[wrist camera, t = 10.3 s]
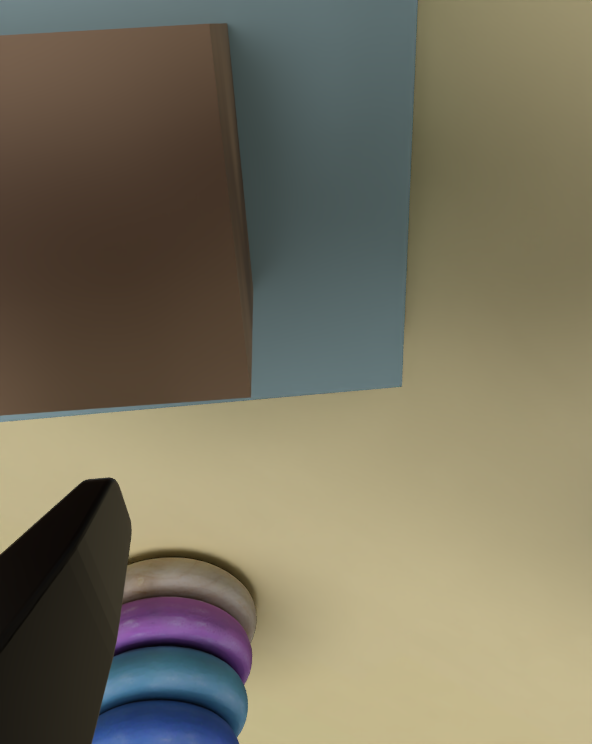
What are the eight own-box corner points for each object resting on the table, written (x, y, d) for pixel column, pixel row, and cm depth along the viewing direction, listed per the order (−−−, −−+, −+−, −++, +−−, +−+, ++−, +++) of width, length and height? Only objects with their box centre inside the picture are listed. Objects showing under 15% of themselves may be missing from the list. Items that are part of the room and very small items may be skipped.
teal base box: (377, 325, 20) (401, 386, 17) (-9, 358, 20) (-64, 427, 16) (384, -223, 12) (430, -315, 9) (-237, -175, 12) (-424, -250, 9)
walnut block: (253, 289, 15) (251, 397, 10) (26, 304, 15) (-70, 420, 10) (227, 23, 11) (209, 23, 7) (-66, 40, 11) (-258, 50, 7)
